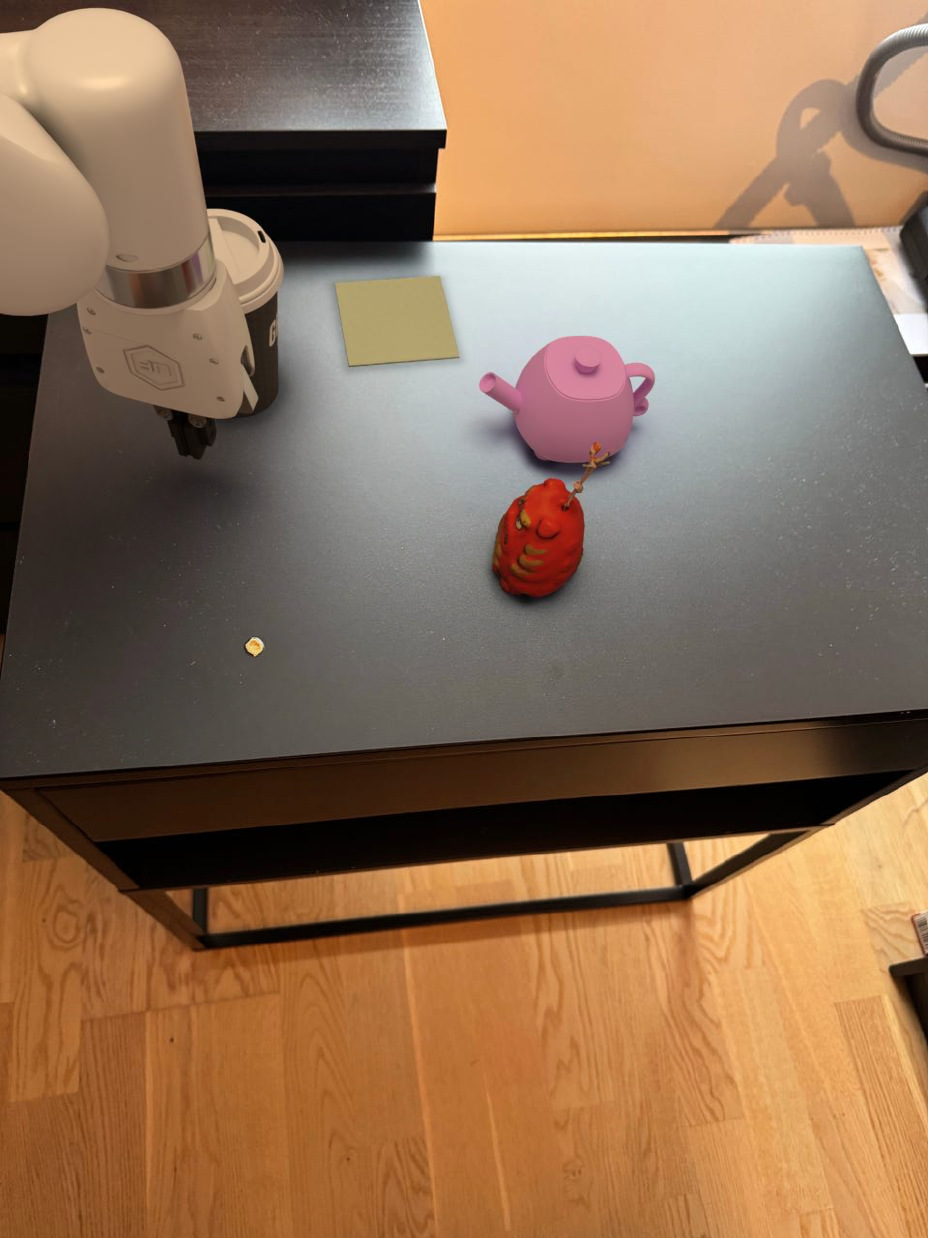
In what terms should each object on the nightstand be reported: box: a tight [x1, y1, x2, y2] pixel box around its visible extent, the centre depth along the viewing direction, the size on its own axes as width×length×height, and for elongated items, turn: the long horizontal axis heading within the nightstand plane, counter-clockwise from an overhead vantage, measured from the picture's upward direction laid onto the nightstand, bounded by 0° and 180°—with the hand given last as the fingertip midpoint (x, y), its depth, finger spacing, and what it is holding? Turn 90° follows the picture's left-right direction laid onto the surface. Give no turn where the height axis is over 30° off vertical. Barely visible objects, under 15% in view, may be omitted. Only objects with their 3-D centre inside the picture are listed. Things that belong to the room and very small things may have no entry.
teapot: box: [478, 335, 656, 464], centre depth 75 cm, size 10×15×9 cm
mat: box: [334, 275, 460, 368], centre depth 83 cm, size 10×10×1 cm
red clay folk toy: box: [491, 442, 611, 598], centre depth 66 cm, size 8×7×15 cm
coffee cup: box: [206, 208, 285, 418], centre depth 72 cm, size 10×10×15 cm
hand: (196, 443), depth 70 cm, fingers closed
